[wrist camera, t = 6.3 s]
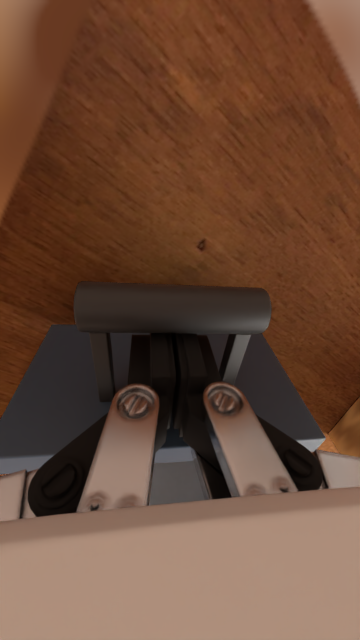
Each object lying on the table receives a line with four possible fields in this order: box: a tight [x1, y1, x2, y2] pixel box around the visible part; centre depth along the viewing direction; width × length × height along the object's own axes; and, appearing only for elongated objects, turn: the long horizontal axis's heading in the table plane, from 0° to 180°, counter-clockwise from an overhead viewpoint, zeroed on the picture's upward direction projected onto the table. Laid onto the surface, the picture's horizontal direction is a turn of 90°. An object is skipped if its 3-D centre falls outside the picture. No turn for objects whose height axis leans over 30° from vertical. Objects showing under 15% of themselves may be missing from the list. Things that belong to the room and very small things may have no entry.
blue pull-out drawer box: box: [0, 281, 326, 505], centre depth 14 cm, size 20×13×7 cm, turn 174°
